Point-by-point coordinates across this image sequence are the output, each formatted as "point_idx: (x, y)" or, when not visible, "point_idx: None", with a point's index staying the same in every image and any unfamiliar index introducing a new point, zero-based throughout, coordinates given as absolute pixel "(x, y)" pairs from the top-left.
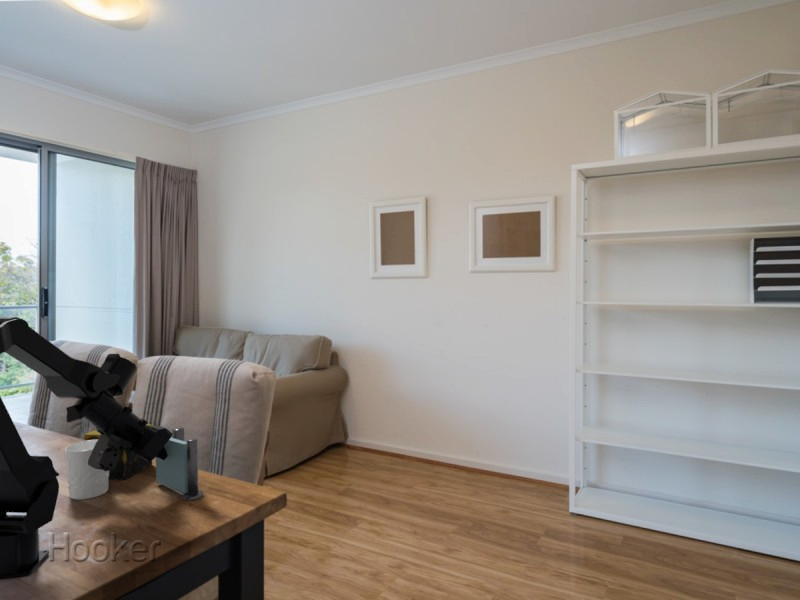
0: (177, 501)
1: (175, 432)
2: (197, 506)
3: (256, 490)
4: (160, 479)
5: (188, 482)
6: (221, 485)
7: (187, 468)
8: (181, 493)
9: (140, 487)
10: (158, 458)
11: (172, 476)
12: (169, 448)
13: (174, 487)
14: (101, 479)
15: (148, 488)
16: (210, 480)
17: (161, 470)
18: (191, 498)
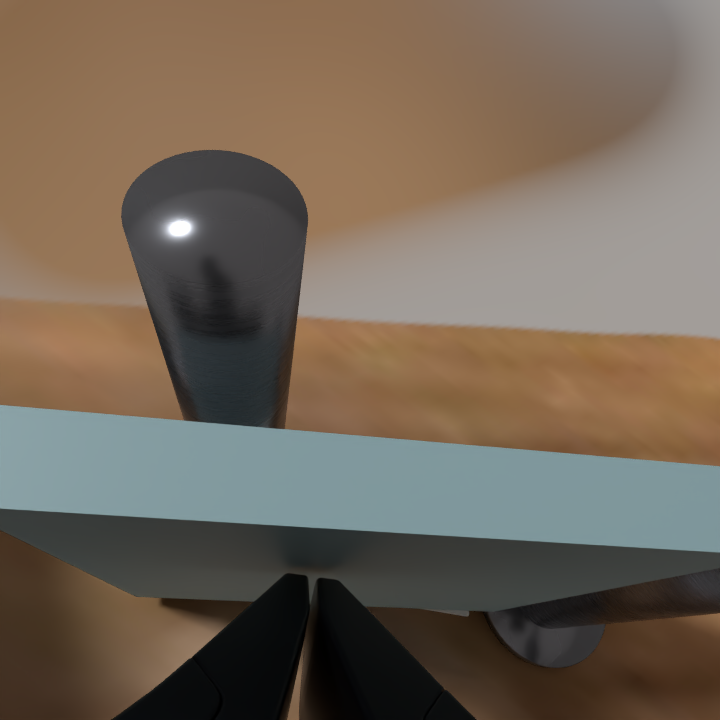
0: (533, 707)
1: (253, 296)
2: (694, 681)
3: (693, 370)
4: (192, 596)
5: (605, 623)
6: (511, 399)
7: (668, 614)
8: (457, 614)
9: (46, 704)
10: (134, 571)
11: (368, 596)
12: (381, 557)
13: (376, 604)
14: None
15: (133, 677)
16: (399, 377)
17: (203, 588)
18: (595, 640)
